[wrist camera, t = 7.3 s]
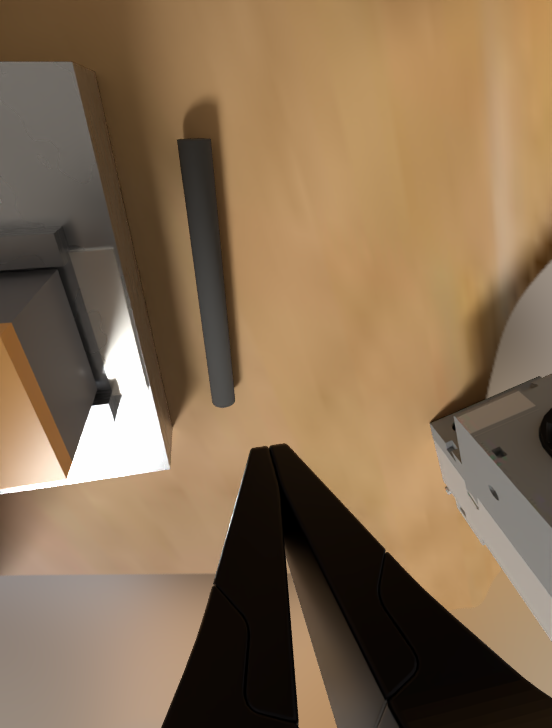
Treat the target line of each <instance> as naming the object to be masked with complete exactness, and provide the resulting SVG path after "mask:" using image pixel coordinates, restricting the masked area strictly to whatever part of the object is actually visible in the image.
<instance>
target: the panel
mask: <svg viewBox="0 0 552 728" xmlns="http://www.w3.org/2000/svg"><path fill="white" fill-rule="evenodd" d="M51 269H58V272H59V275H60V278H61V281H62V284H63V287H64V290H65V293H66V296H67V299H68V302H69V305H70V308H71V311H72V314H73V317H74V320H75V323H76V326H77V329H78V332H79V335H80V338H81V341H82V344H83V347H84V350H85V353H86V356H87V359H88V362H89V365H90V368H91V371H92V374H93V377H94V380H95V383H96V386H97V392H96V395H95V398H94V401H93V404H92V407H91V410H90V413H89V416H88V419H87V422H86V424H85V427H84V430H83V433H82V436H81V439H80V442H79V445H78V448H77V451H76V454H75V457H74V460H73V463H72V466H71V468H70V471H69V474H68V477H67V480H61V481H54V482H48V483H41V484H34V485H27V486H20V487H13V488H6V489H0V494H5V493H12V492H19V491H25V490H32V489H39V488H46V487H53V486H59V485H66V484H73V483H80V482H86V481H93V480H100V479H107V478H113V477H120V476H127V475H134V474H141V473H147V472H154V471H161V470H168V469H170V464H171V447H172V430H173V428H172V423H171V419H170V414H169V410H168V405H167V400H166V396H165V391H164V387H163V382H162V377H161V373H160V368H159V364H158V359H157V354H156V350H155V345H154V341H153V336H152V332H151V327H150V322H149V318H148V313H147V309H146V304H145V299H144V295H143V290H142V286H141V281H140V276H139V272H138V267H137V263H136V258H135V253H134V249H133V244H132V240H131V235H130V230H129V226H128V221H127V217H126V212H125V207H124V203H123V198H122V194H121V189H120V184H119V180H118V175H117V171H116V166H115V161H114V157H113V152H112V148H111V143H110V138H109V134H108V129H107V125H106V120H105V115H104V111H103V106H102V102H101V97H100V92H99V88H98V83H97V79H96V74H95V72H94V71H92V70H90V69H87V68H85V67H83V66H81V65H78V64H76V63H74V62H0V273H9V272H23V271H37V270H51Z"/></svg>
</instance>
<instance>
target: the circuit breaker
mask: <svg viewBox="0 0 552 728" xmlns="http://www.w3.org/2000/svg"><path fill="white" fill-rule="evenodd" d="M430 427H431V431H432V435H433V439H434V444H435V448H436V452H437V456H438V460H439V464H440V468H441V473H442V477H443V481H444V482H445V484H446V485H447V487H445V489H446V492H447V493H448V495H449V494H453V496H454V497H455V500H456V504H457V508H458V509H459V511H460V512H461V514H462V515H463V517H464V518H465V520H466V521H467V523H468V524H469V526H470V527H471V529H472V530H473V532H474V533H475V535H476V536H477V538H478V539H479V541H480V542H481V544H482V545H486V546H487V547H488V549H489V550H490V552H491V553H492V555H493V556H494V558H495V559H496V561H497V562H498V564H499V565H500V567H501V568H502V569H503V571H504V572H505V574H506V575H507V577H508V578H509V580H510V581H511V583H512V584H513V586H514V587H515V589H516V590H517V591H518V593H519V594H520V596H521V597H522V599H523V600H524V602H525V603H526V605H527V606H528V607H529V609H530V610H531V612H532V613H533V615H534V616H535V618H536V619H537V621H538V622H539V624H540V625H541V627H542V628H543V630H544V631H545V632H546V633H547V635H548V637H549V638H550V640H551V641H552V374H550V375H548V376H545V377H543V378H541V377H540V376H538V377H536V378H534V379H532V380H529V381H527V382H525V383H522V384H520V385H518V386H515V387H513V388H511V389H508V390H506V391H504V392H502V393H499V394H497V395H495V396H493V397H490V398H488V399H485V400H483V401H481V402H478V403H476V404H474V405H471V406H469V407H467V408H464V409H462V410H460V411H458V412H455V413H453V414H451V415H448V416H446V417H444V418H441V419H439V420H437V421H434V422H432V423H430ZM455 429H456V430H455ZM454 430H455V431H454Z"/></svg>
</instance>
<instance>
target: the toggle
mask: <svg viewBox="0 0 552 728" xmlns="http://www.w3.org/2000/svg"><path fill="white" fill-rule="evenodd" d="M96 392H97V386H96V383H95V380H94V377H93V374H92V371H91V368H90V365H89V362H88V359H87V356H86V353H85V350H84V347H83V344H82V341H81V338H80V335H79V332H78V329H77V326H76V323H75V320H74V317H73V314H72V311H71V308H70V305H69V302H68V299H67V296H66V293H65V290H64V287H63V284H62V281H61V278H60V275H59V272H58V269H51V270H37V271H23V272H9V273H0V489H6V488H13V487H20V486H27V485H34V484H41V483H48V482H54V481H61V480H67V477H68V474H69V471H70V468H71V466H72V463H73V460H74V457H75V454H76V451H77V448H78V445H79V442H80V439H81V436H82V433H83V430H84V427H85V424H86V422H87V419H88V416H89V413H90V410H91V407H92V404H93V401H94V398H95V395H96Z"/></svg>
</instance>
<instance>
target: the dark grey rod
mask: <svg viewBox="0 0 552 728" xmlns="http://www.w3.org/2000/svg"><path fill="white" fill-rule="evenodd" d="M177 143H178V151H179V158H180V166H181V173H182V180H183V188H184V195H185V203H186V210H187V218H188V225H189V232H190V240H191V247H192V255H193V262H194V269H195V277H196V284H197V292H198V299H199V307H200V314H201V321H202V329H203V336H204V344H205V351H206V358H207V366H208V373H209V381H210V388H211V396H212V403H213V404H214V405H215V406H216V407H220V408H224V407H229V406H231V405H232V404H233V403H234V402H235V394H234V383H233V372H232V362H231V351H230V340H229V330H228V319H227V308H226V297H225V287H224V276H223V265H222V254H221V244H220V233H219V222H218V212H217V201H216V190H215V179H214V169H213V158H212V147H211V139H205V138H197V139H179V140H177Z"/></svg>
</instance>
